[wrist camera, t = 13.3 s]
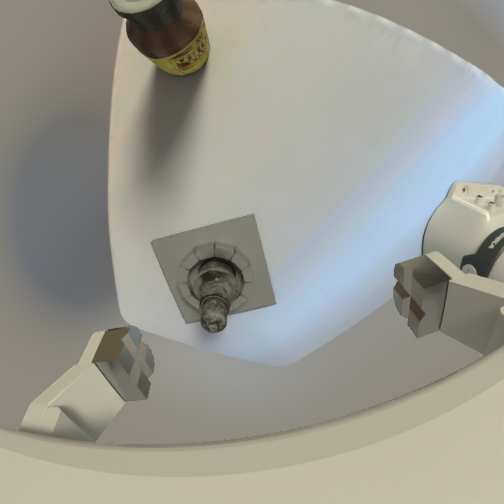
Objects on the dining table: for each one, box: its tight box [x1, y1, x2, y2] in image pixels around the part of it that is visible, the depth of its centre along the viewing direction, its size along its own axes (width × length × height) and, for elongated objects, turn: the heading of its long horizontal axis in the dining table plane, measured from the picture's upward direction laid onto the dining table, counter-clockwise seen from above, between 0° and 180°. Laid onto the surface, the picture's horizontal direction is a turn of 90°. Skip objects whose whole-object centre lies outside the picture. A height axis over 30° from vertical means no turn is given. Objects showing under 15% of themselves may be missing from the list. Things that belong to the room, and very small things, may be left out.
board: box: [151, 214, 276, 323], centre depth 41 cm, size 14×14×1 cm
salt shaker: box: [193, 257, 239, 333], centre depth 35 cm, size 6×6×12 cm
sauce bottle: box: [109, 0, 210, 76], centre depth 19 cm, size 6×6×20 cm
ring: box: [177, 241, 254, 311], centre depth 40 cm, size 10×10×2 cm
